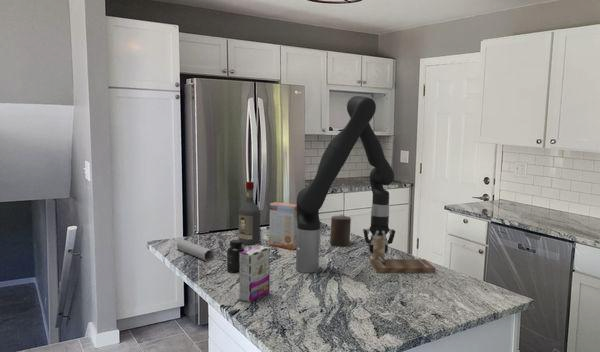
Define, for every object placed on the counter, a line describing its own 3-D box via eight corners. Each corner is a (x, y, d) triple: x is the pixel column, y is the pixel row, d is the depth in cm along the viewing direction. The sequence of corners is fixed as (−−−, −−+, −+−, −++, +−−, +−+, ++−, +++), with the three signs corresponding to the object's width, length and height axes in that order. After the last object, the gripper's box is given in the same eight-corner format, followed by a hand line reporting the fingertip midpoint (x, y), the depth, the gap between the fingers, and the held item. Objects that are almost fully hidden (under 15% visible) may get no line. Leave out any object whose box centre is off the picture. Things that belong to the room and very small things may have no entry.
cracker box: (299, 247, 222) (300, 204, 220) (292, 250, 217) (294, 206, 214) (275, 242, 229) (276, 201, 227) (268, 245, 224) (269, 202, 222)
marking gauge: (378, 270, 190) (379, 241, 189) (371, 260, 203) (372, 233, 201) (390, 270, 190) (391, 241, 189) (382, 260, 203) (383, 234, 202)
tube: (172, 241, 212) (202, 253, 194) (182, 236, 215) (212, 247, 197) (176, 251, 214) (206, 264, 196) (186, 246, 217) (216, 258, 199)
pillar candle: (340, 247, 223) (341, 217, 222) (325, 243, 231) (327, 213, 229) (353, 245, 230) (355, 215, 228) (339, 240, 237) (341, 212, 235)
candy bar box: (258, 290, 165) (259, 244, 163) (269, 293, 162) (270, 247, 160) (238, 299, 155) (238, 251, 153) (249, 303, 153) (250, 254, 151)
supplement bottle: (223, 270, 186) (223, 240, 184) (236, 266, 191) (237, 237, 189) (234, 274, 181) (234, 244, 180) (247, 270, 186) (248, 241, 185)
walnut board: (377, 272, 187) (377, 267, 187) (370, 263, 199) (370, 259, 199) (435, 272, 189) (435, 267, 189) (425, 264, 201) (425, 259, 201)
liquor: (248, 239, 235) (249, 180, 232) (262, 242, 230) (263, 182, 226) (235, 242, 228) (236, 182, 224) (249, 246, 222) (250, 184, 219)
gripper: (365, 215, 195) (363, 255, 197) (398, 216, 196) (396, 255, 198) (361, 212, 202) (360, 250, 204) (394, 212, 203) (392, 250, 205)
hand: (378, 252), depth 201 cm, fingers closed on marking gauge, 5 cm apart
